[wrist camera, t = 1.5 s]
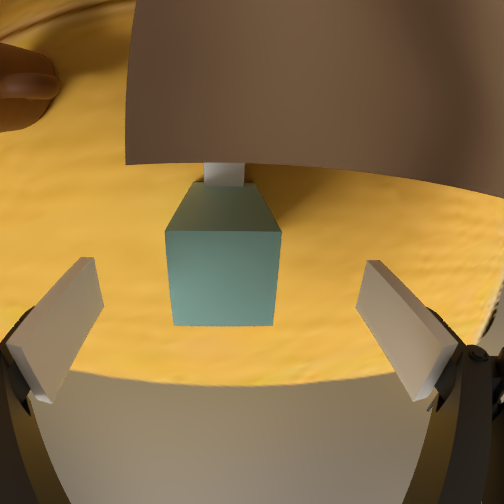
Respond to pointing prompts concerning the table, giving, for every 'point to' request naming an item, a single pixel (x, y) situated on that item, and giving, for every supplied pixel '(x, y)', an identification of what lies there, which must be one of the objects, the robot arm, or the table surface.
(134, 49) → the wooden cabinet
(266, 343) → the table surface
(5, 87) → the mug
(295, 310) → the table surface
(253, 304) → the tool
